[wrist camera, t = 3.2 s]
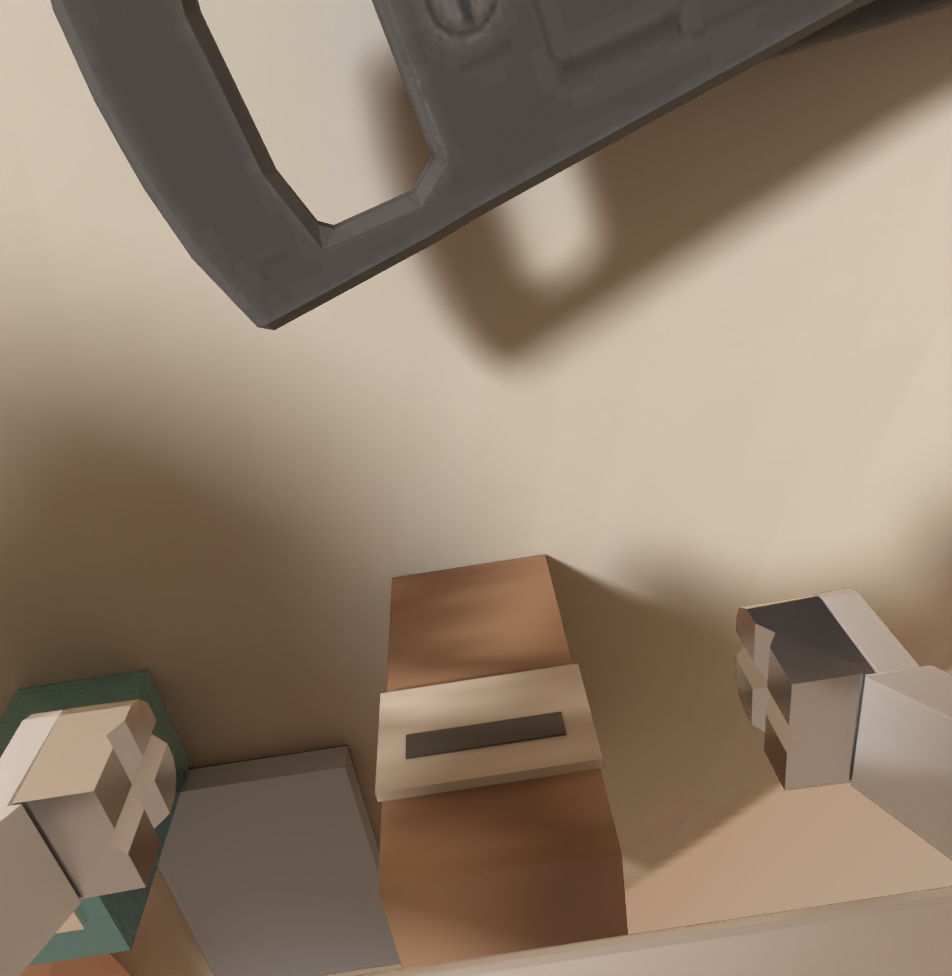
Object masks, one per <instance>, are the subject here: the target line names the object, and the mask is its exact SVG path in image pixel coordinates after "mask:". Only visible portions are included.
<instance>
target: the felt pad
mask: <svg viewBox="0 0 952 976" xmlns="http://www.w3.org/2000/svg"><path fill="white" fill-rule="evenodd" d="M379 855H380V851H379V848H378V845H377V842H376V838H375V835H374V832H373V829H372V825H371V822H370V819H369V815H368V812H367V809H366V806H365V802H364V799H363V796H362V792H361V789H360V786H359V783H358V779H357V776H356V773H355V769H354V766H353V763H352V760H351V756H350V753H349V750H348V746H342V747H335V748H329V749H322V750H315V751H309V752H302V753H296V754H289V755H283V756H276V757H269V758H263V759H256V760H250V761H243V762H236V763H230V764H223V765H217V766H210V767H204V768H197V769H190V770H188V771H187V774H186V777H185V780H184V783H183V786H182V790H181V793H180V796H179V799H178V802H177V805H176V809H175V812H174V815H173V818H172V821H171V824H170V827H169V831H168V834H167V837H166V840H165V843H164V846H163V850H162V853H161V856H160V859H159V862H158V865H157V867H158V869H159V870H160V872H161V874H162V876H163V878H164V880H165V882H166V884H167V886H168V888H169V890H170V892H171V894H172V896H173V897H174V899H175V901H176V903H177V905H178V907H179V909H180V911H181V913H182V915H183V917H184V919H185V921H186V923H187V924H188V926H189V928H190V930H191V932H192V934H193V936H194V938H195V940H196V942H197V944H198V946H199V948H200V949H201V951H202V953H203V955H204V957H205V959H206V961H207V963H208V965H209V967H210V969H211V971H212V973H213V975H214V976H321V975H328V974H335V973H341V972H348V971H355V970H361V969H368V968H375V967H381V966H388V965H395V964H401V962H400V958H399V955H398V952H397V949H396V946H395V943H394V940H393V936H392V933H391V930H390V927H389V924H388V921H387V918H386V914H385V911H384V908H383V905H382V902H381V899H380V896H379V892H378V877H379Z"/></svg>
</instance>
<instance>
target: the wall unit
mask: <svg viewBox="0 0 952 976" xmlns="http://www.w3.org/2000/svg"><path fill="white" fill-rule="evenodd" d="M601 768H604V761H603V756H602V752H601V748H600V744H599V741H598V737H597V733H596V729H595V725H594V722H593V718H592V714H591V710H590V707H589V703H588V699H587V695H586V691H585V688H584V684H583V680H582V676H581V672H580V669H579V665H578V663H577V664H573V662H572V658H571V654H570V650H569V646H568V643H567V639H566V635H565V631H564V627H563V623H562V619H561V615H560V611H559V607H558V603H557V600H556V596H555V592H554V588H553V584H552V580H551V576H550V572H549V568H548V564H547V560H546V556H545V555H539V556H532V557H526V558H519V559H513V560H506V561H500V562H493V563H487V564H480V565H474V566H467V567H461V568H454V569H448V570H441V571H435V572H428V573H422V574H415V575H409V576H402V577H396V578H392V589H391V612H390V634H389V656H388V678H387V693H380V710H379V728H378V747H377V765H376V783H375V795H376V799H377V802H382V811H381V833H380V855H379V877H378V892H379V896H380V899H381V902H382V905H383V908H384V911H385V914H386V918H387V921H388V924H389V927H390V930H391V933H392V936H393V940H394V943H395V946H396V949H397V952H398V955H399V958H400V962H401V965H402V968H410V967H417V966H423V965H430V964H437V963H443V962H450V961H457V960H463V959H470V958H477V957H483V956H490V955H497V954H503V953H510V952H517V951H523V950H530V949H537V948H543V947H550V946H557V945H563V944H570V943H577V942H583V941H590V940H596V939H603V938H610V937H616V936H623V935H628V929H627V917H626V904H625V891H624V879H623V866H622V854H621V850H620V846H619V842H618V838H617V834H616V830H615V826H614V822H613V819H612V815H611V811H610V807H609V803H608V799H607V795H606V791H605V787H604V783H603V779H602V776H601V772H600V769H601Z"/></svg>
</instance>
